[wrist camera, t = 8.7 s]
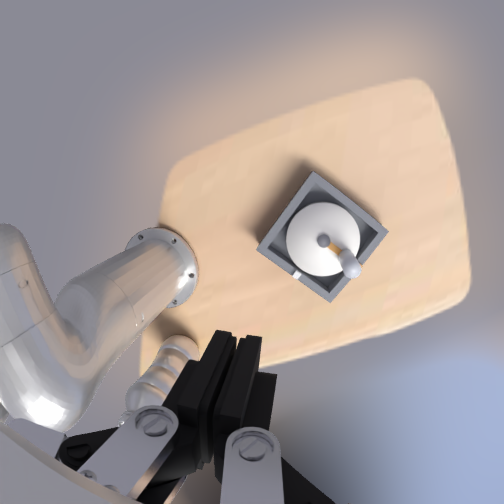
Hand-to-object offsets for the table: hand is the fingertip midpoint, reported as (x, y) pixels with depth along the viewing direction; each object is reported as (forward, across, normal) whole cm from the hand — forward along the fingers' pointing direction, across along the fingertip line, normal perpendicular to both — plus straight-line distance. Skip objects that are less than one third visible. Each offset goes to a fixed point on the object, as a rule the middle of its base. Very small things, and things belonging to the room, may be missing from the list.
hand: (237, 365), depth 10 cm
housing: (+29, -5, +1) cm, 30 cm away
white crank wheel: (+28, -5, +1) cm, 28 cm away
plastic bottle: (+29, +14, +22) cm, 39 cm away
